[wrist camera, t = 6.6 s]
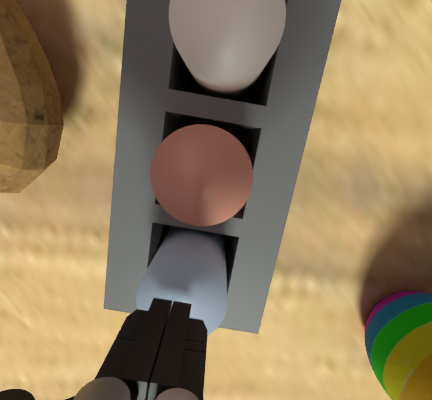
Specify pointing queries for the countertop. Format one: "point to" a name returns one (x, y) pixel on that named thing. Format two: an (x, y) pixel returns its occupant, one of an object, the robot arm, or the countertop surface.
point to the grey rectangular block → (223, 114)
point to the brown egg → (201, 175)
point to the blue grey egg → (189, 274)
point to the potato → (25, 103)
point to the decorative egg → (402, 344)
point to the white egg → (226, 41)
